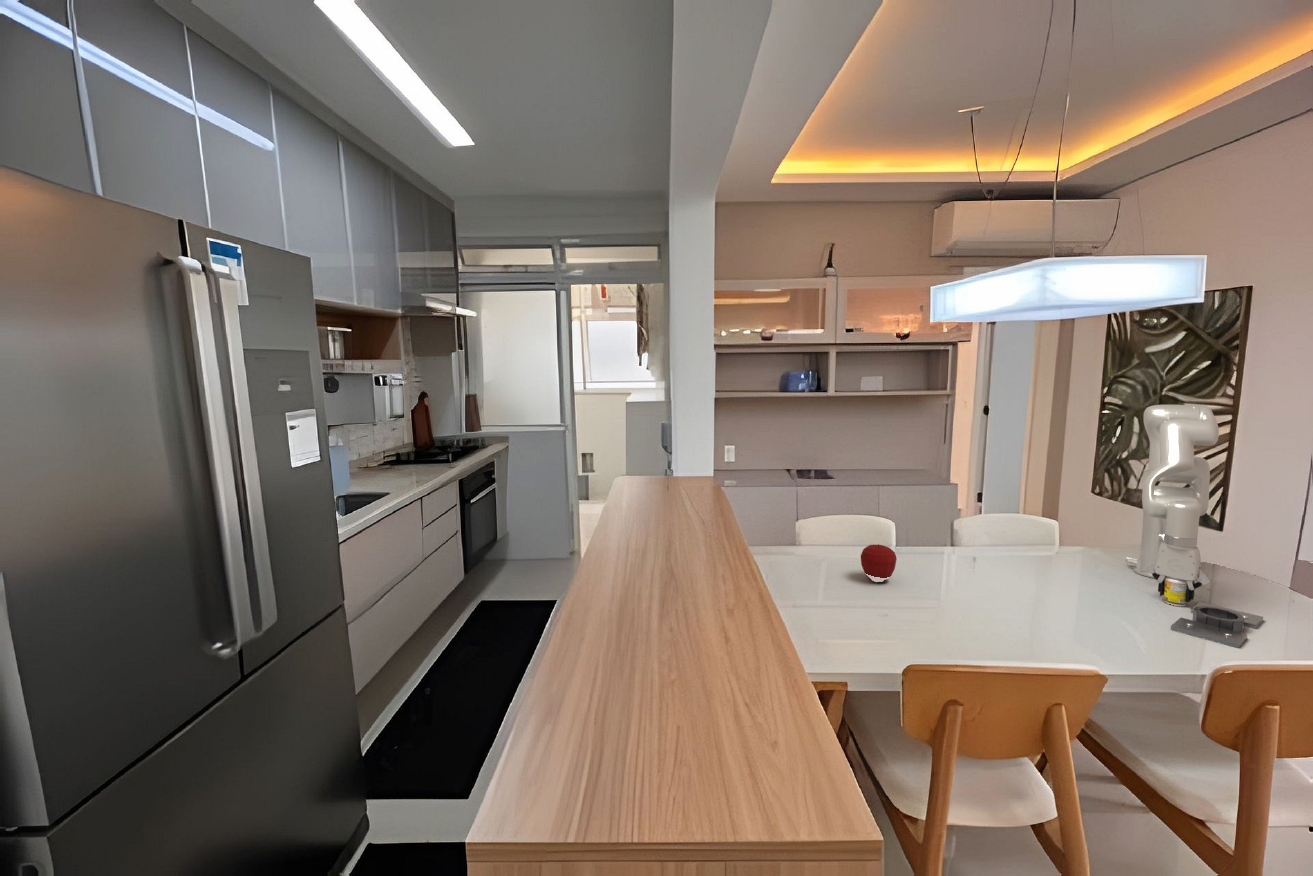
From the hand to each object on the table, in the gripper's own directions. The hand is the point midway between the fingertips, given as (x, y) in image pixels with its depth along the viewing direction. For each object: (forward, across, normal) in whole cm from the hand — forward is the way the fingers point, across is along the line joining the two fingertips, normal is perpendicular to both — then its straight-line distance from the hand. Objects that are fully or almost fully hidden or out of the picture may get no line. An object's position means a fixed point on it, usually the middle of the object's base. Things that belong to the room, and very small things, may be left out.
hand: (1175, 597), depth 187 cm
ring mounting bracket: (+2, +12, -10) cm, 16 cm away
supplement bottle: (+2, 0, 0) cm, 2 cm away
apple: (+2, -68, -54) cm, 87 cm away
